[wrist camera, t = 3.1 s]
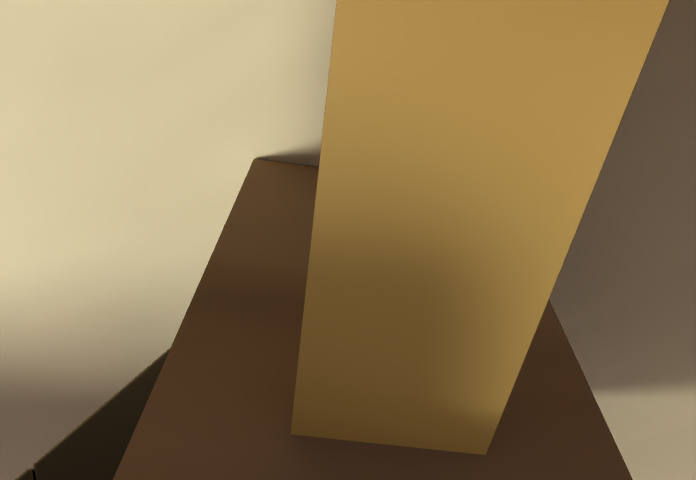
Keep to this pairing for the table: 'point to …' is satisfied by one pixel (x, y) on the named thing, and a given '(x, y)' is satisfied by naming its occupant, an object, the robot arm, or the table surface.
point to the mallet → (410, 261)
